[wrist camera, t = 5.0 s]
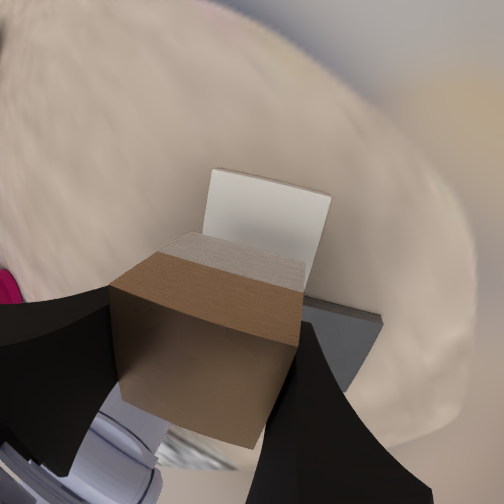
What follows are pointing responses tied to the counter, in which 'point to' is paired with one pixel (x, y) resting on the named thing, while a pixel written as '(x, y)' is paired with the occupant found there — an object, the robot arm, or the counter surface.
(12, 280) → the pepper mill
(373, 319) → the stand
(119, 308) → the block
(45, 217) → the counter surface
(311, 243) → the stand
